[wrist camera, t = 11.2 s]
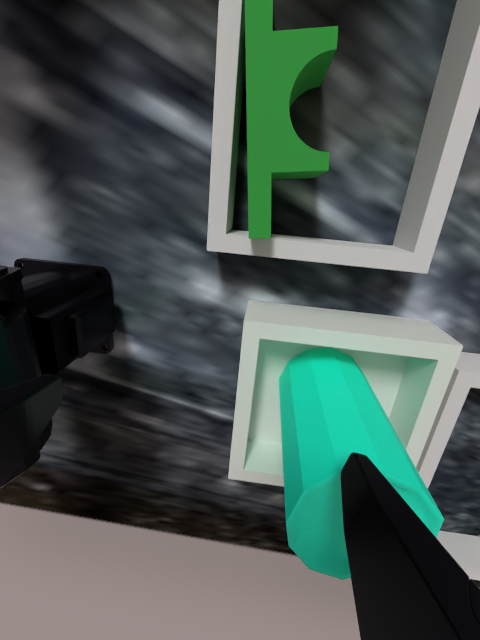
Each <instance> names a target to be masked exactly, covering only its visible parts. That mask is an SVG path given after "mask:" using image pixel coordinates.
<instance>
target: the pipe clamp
mask: <svg viewBox="0 0 480 640" xmlns="http://www.w3.org/2000/svg"><path fill="white" fill-rule="evenodd" d="M337 37H338V26H330V27H318V28H305V29H293V30H280V31H273V0H245V48H246V109H247V169H248V229H249V239H260V238H271V180H273V179H300V178H316V177H318V176H319V175H321V174H323V173H325V172H327V171H328V170H329V157H330V152H322V151H318V150H315V149H312V148H311V147H309V146H307V145H306V144H305V143H304V142H303V141H301V139H300V138H299V137H298V135H297V134H296V132H295V130H294V128H293V126H292V123H291V119H290V112H289V109H290V107H291V105H292V104H293V102H294V101H295V100H296V99H297V98H298V97H299V96H300V95H301V94H302V93H304V92H306V91H307V90H310V89H312V88H316V87H320V86H321V84H322V81H323V79H324V77H325V74H326V72H327V70H328V68H329V65H330V63H331V61H332V59H333V56H334V54H335V52H336V50H337Z"/></svg>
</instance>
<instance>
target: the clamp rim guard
mask: <svg viewBox="0 0 480 640" xmlns="http://www.w3.org/2000/svg"><path fill="white" fill-rule="evenodd" d="M245 56H246V48H245V0H219V11H218V32H217V52H216V72H215V93H214V113H213V134H212V154H211V174H210V195H209V215H208V236H207V251H215V252H225V253H234V254H244V255H253V256H263V257H272V258H282V259H291V260H301V261H311V262H320V263H330V264H339V265H349V266H358V267H368V268H378V269H387V270H397V271H406V272H416V273H425V274H427V273H428V270H429V267H430V263H431V260H432V257H433V254H434V251H435V247H436V244H437V241H438V238H439V235H440V231H441V228H442V225H443V222H444V219H445V215H446V212H447V209H448V206H449V203H450V199H451V196H452V193H453V190H454V187H455V183H456V180H457V177H458V174H459V171H460V167H461V164H462V161H463V158H464V155H465V152H466V148H467V145H468V142H469V139H470V136H471V132H472V129H473V126H474V123H475V120H476V116H477V113H478V110H479V107H480V0H457V2H456V6H455V10H454V14H453V17H452V21H451V25H450V29H449V33H448V37H447V40H446V44H445V48H444V52H443V56H442V59H441V63H440V67H439V71H438V75H437V78H436V82H435V86H434V90H433V94H432V97H431V101H430V105H429V109H428V113H427V116H426V120H425V124H424V128H423V132H422V135H421V139H420V143H419V147H418V151H417V154H416V158H415V162H414V166H413V170H412V174H411V177H410V181H409V185H408V189H407V193H406V196H405V200H404V204H403V208H402V212H401V215H400V219H399V223H398V227H397V231H396V234H395V238H394V242H393V246H390V245H380V244H370V243H360V242H350V241H340V240H330V239H320V238H310V237H300V236H290V235H280V234H271V238H260V239H249V231H240V230H232V225H233V212H234V199H235V186H236V173H237V160H238V147H239V134H240V121H241V108H242V95H243V82H244V69H245Z"/></svg>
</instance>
